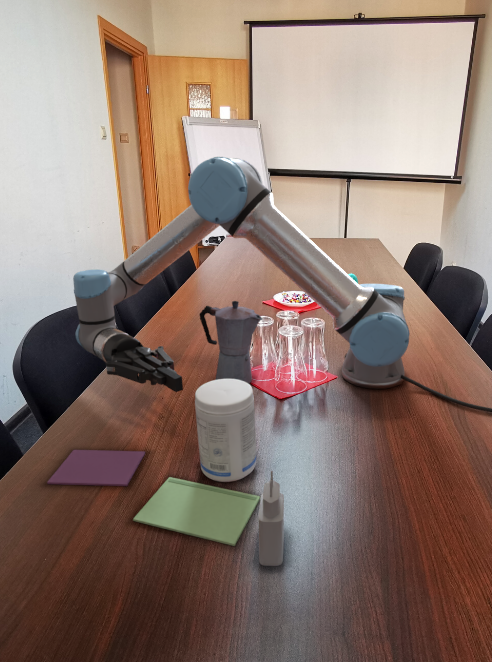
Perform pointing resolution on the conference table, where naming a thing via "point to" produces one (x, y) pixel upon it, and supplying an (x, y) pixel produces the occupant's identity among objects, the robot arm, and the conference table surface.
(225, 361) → the moka pot
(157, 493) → the sage cloth
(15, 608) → the conference table surface
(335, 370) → the conference table surface
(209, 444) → the supplement tub
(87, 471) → the plum cloth
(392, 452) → the conference table surface
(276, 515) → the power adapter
